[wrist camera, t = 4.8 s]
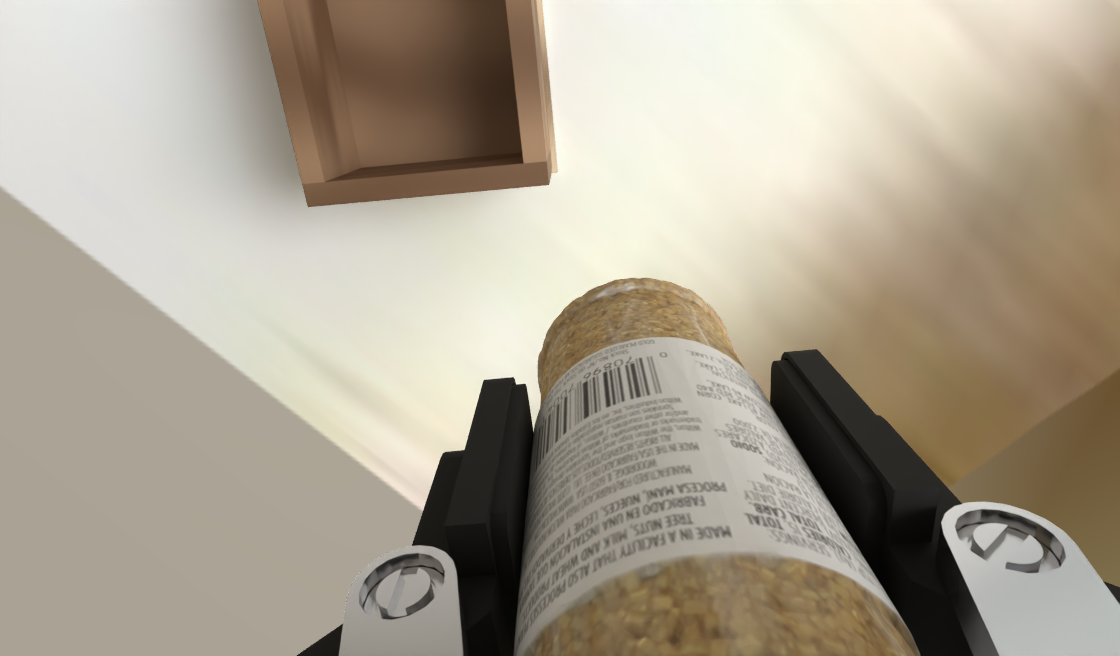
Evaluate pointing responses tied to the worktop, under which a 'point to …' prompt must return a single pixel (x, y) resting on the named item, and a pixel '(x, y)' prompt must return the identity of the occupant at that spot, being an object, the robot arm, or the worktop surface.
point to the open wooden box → (413, 95)
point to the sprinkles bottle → (679, 501)
